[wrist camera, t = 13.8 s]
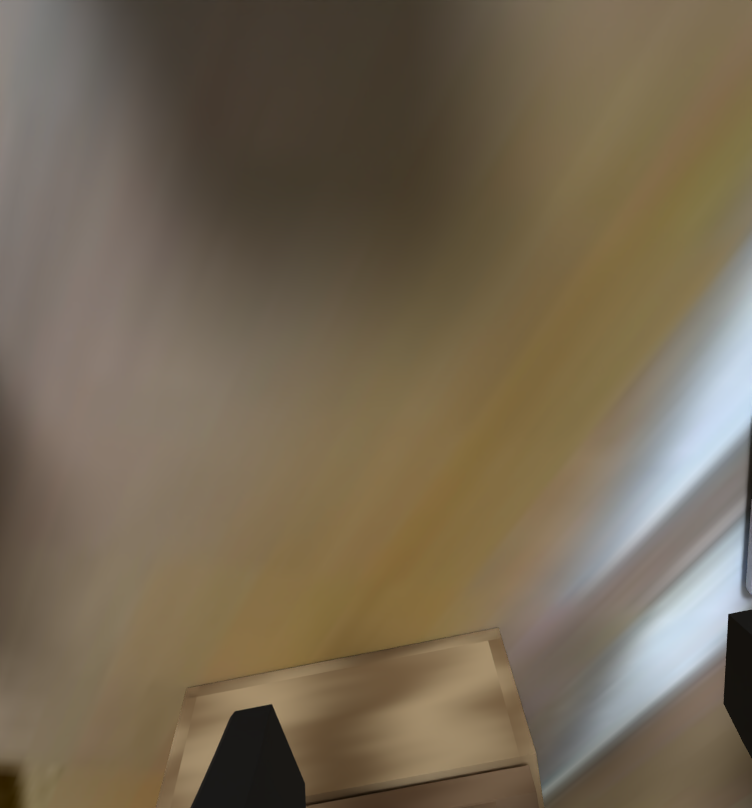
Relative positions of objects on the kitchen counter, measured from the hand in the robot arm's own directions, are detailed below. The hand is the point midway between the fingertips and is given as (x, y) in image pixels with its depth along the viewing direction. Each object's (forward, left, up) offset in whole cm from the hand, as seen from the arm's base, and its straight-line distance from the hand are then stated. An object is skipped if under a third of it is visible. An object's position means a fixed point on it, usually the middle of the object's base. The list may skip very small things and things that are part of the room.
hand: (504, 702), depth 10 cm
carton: (+5, +14, -10) cm, 18 cm away
